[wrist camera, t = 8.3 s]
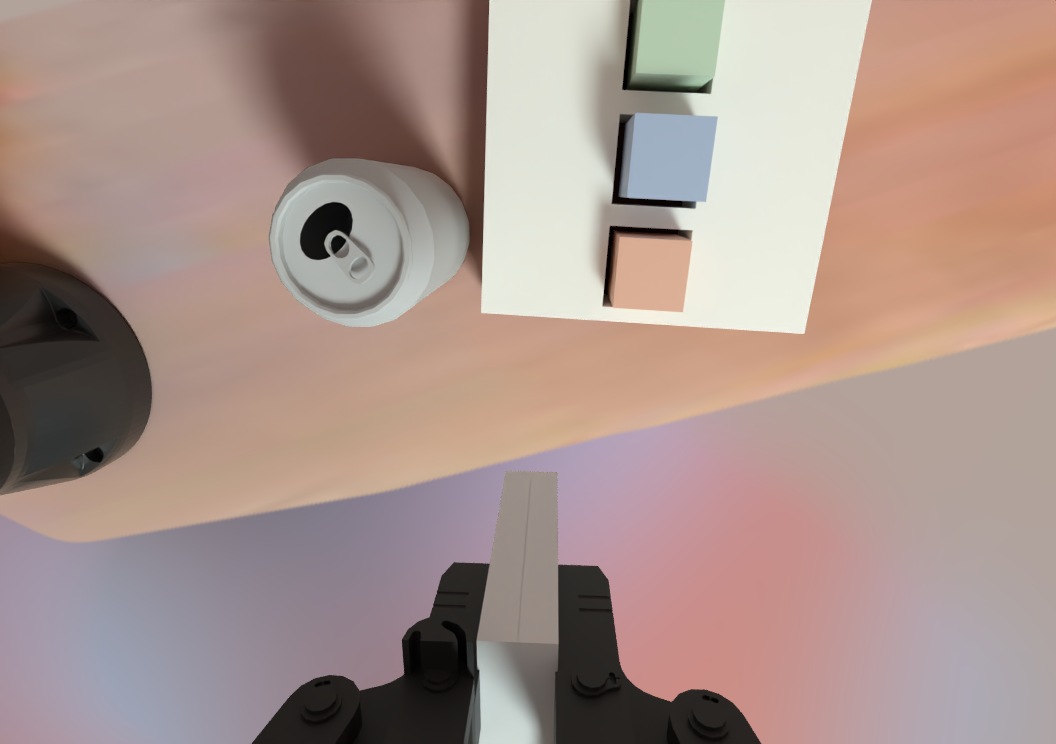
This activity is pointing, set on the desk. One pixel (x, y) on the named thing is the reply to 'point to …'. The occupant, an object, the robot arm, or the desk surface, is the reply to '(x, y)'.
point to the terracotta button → (648, 270)
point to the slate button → (667, 157)
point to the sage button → (674, 44)
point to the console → (714, 226)
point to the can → (366, 239)
